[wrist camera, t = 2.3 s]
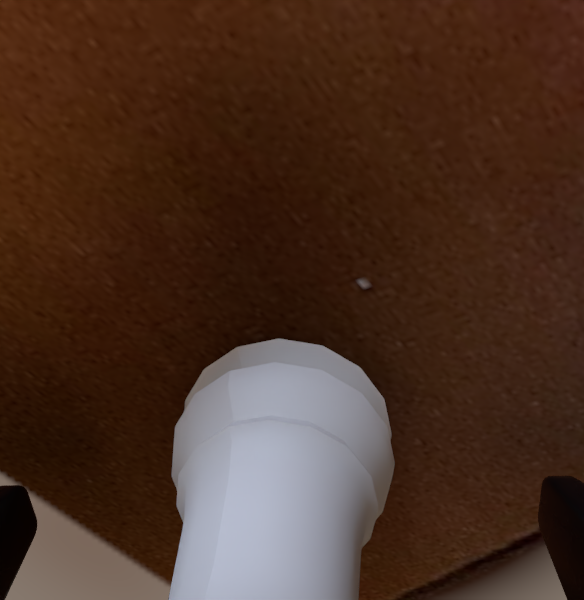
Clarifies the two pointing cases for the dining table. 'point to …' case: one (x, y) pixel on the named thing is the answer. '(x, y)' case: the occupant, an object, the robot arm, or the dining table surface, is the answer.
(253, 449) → the rook chess piece
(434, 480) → the dining table surface
